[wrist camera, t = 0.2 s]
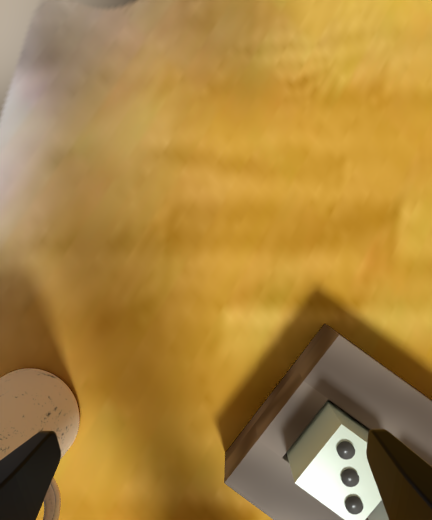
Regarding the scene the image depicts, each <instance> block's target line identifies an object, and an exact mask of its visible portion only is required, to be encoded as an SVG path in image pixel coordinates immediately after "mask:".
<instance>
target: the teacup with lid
mask: <svg viewBox="0 0 432 520" xmlns="http://www.w3.org/2000/svg"><path fill="white" fill-rule="evenodd" d="M79 420H80V418H79V409H78V405H77V402H76V399H75V397H74V395H73V393H72V391H71V390H70V388H69V387H68V386H67V385H66V384H65V383H64V382H63V381H62V380H61V379H60V378H58V377H57V376H55V375H53V374H52V373H49V372H47V371H44V370H40V369H34V368H26V369H19V370H15V371H13V372H10V373H8V374H6V375H4V376H2V377H1V378H0V460H1V459H3V458H4V457H5V456H7V455H8V454H9V453H11V452H12V451H13V450H15V449H16V448H18V447H19V446H20V445H22V444H23V443H24V442H26V441H27V440H28V439H30V438H31V437H32V436H34V435H35V434H37V433H38V432H40V431H54V432H55V433H56V435H57V438H58V442H59V446H60V450H61V458H62V457H63V455H64V454H65V453H66V452H67V451H68V449H69V448H70V447H71V445H72V444H73V442H74V440H75V438H76V435H77V432H78V428H79ZM61 458H60V459H61ZM60 505H61V498H60V491H59V488H58V485H57V483H56V481H55V479H54V478H53V479H52V481H51V484H50V486H49V489H48V491H47V493H46V496H45V498H44V517H43V520H58V518H59V513H60Z"/></svg>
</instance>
